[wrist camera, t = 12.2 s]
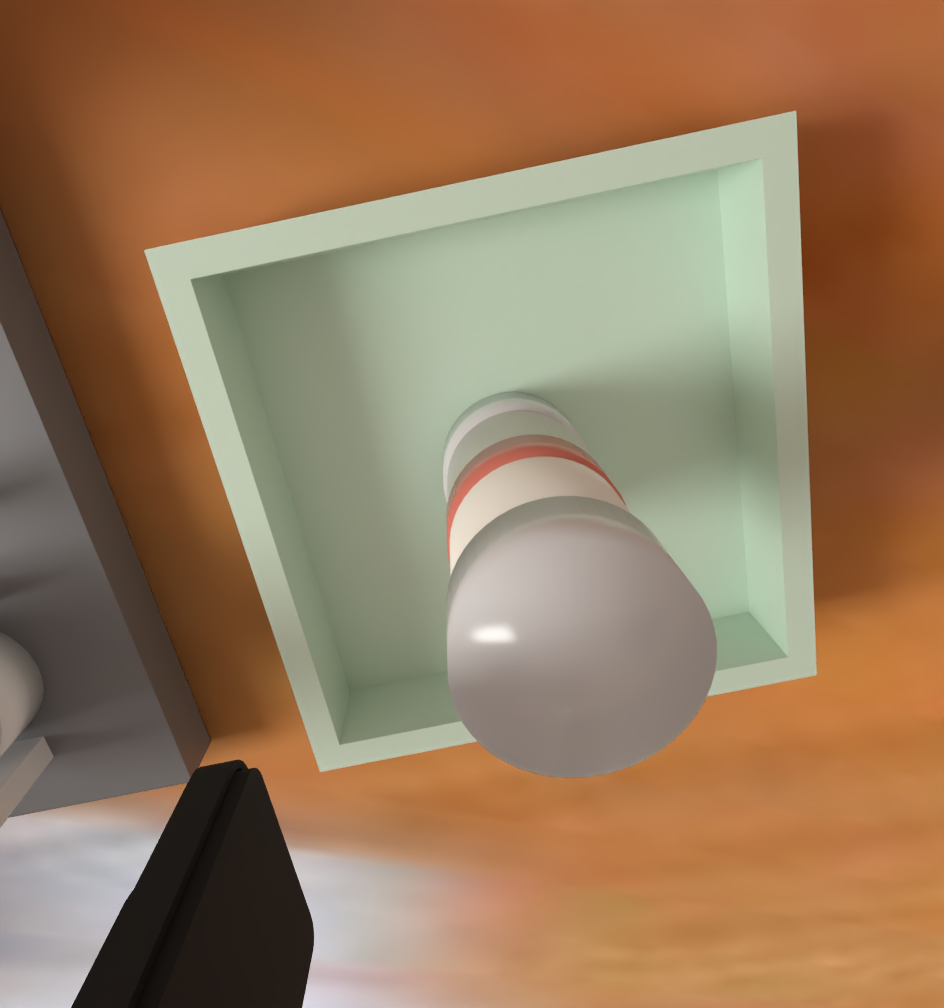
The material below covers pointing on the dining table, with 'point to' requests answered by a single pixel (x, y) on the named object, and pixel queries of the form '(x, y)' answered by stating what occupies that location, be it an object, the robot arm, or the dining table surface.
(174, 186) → the dining table surface
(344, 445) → the tray
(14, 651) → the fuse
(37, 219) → the dining table surface
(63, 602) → the fuse holder
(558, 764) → the cylinder
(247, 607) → the dining table surface
